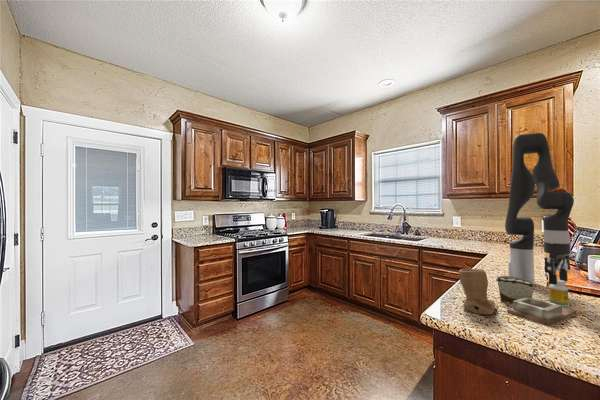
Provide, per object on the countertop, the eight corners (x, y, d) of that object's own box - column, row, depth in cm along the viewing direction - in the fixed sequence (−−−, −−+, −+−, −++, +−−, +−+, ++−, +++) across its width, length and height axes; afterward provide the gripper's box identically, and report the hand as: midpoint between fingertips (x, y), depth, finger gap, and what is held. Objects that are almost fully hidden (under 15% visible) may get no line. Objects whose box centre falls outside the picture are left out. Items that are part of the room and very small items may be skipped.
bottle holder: (507, 312, 96) (506, 301, 96) (535, 302, 104) (534, 292, 104) (549, 325, 85) (548, 313, 85) (576, 314, 93) (576, 302, 93)
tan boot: (462, 298, 110) (461, 263, 110) (497, 305, 102) (496, 268, 102) (454, 310, 99) (453, 271, 99) (493, 318, 91) (491, 276, 91)
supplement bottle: (551, 301, 106) (550, 277, 106) (570, 305, 101) (569, 280, 101) (547, 304, 103) (546, 280, 103) (566, 308, 98) (565, 283, 98)
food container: (536, 304, 104) (535, 279, 104) (536, 308, 99) (535, 282, 100) (498, 296, 112) (497, 274, 112) (496, 300, 108) (495, 277, 108)
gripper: (553, 239, 109) (554, 278, 108) (535, 241, 103) (537, 282, 102) (577, 241, 102) (579, 282, 101) (560, 243, 96) (562, 287, 95)
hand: (558, 282), depth 102 cm, fingers open, 8 cm apart
